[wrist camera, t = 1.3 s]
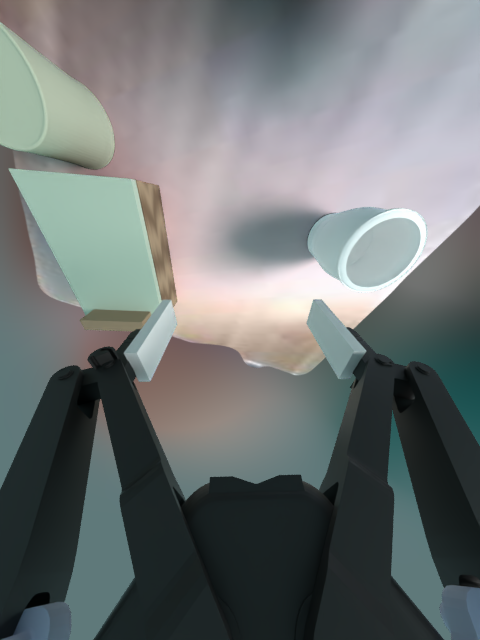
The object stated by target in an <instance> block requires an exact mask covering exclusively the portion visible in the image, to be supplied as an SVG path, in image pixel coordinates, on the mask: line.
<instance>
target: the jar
mask: <svg viewBox="0 0 480 640" xmlns="http://www.w3.org/2000/svg"><path fill="white" fill-rule="evenodd" d="M426 240H427V225H426V222H425V220H424V219H423V217H422V216H421V215H420V214H419V213H417V212H415V211H413V210H410V209H402V208H396V209H389V210H386V209H382V208H375V207H362V208H355V209H351V210H348V211H343V212H340V213H332V214H328V215H326V216H324V217H322V218H321V219H320V220H318V221H317V222H316V223H315V225H314V226H313V227H312V229H311V231H310V233H309V236H308V242H307V244H308V249H309V251H310V253H311V254H312V255H313V256H314V257H315V259H316V260H317V262H318V263H319V265H320V266H321V267H322V269H323V270H324V271H325V272H326V273H328V274H329V275H330V276H332V277H334V278H336V279H338V280H340V281H341V283H342V284H343V285H344V286H346V287H347V288H348V289H350V290H352V291H356V292H372V291H376V290H379V289H382V288H385V287H387V286H389V285H390V284H392V283H394V282H395V281H397V280H398V279H400V278H401V277H402V276H403V275H405V274H406V273H407V272H408V271H409V270H410V269H411V268H412V266H413V265H414V264H415V263H416V261H417V260H418V258H419V257H420V255H421V253H422V251H423V249H424V247H425V244H426Z"/></svg>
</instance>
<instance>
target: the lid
mask: <svg viewBox="0 0 480 640" xmlns="http://www.w3.org/2000/svg"><path fill="white" fill-rule="evenodd" d="M9 171H10V172H11V174H12V176H13V178H14V180H15V182H16V184H17V186H18V188H19V190H20V192H21V193H22V195H23V197H24V199H25V201H26V203H27V205H28V207H29V209H30V211H31V212H32V214H33V216H34V218H35V220H36V222H37V224H38V226H39V228H40V229H41V231H42V233H43V235H44V237H45V239H46V241H47V243H48V245H49V247H50V248H51V250H52V252H53V254H54V256H55V258H56V260H57V262H58V264H59V266H60V267H61V269H62V271H63V273H64V275H65V277H66V279H67V281H68V283H69V284H70V286H71V288H72V290H73V292H74V294H75V296H76V298H77V300H78V302H79V303H80V305H81V307H82V309H83V311H84V313H85V315H86V316H84V317H83V318H82V319H80V322H81V324H82V325H83V327H84V329H85V330H110V331H111V330H113V331H134V330H136V329H142V327H143V326H144V325H145V323H146V322H147V321H148V319H149V318H150V316H151V315H152V314H153V312H154V311H155V310H156V308H157V307H158V306H159V304H160V303H161V302H162V300H161V295H160V291H159V286H158V281H157V277H156V272H155V268H154V263H153V258H152V254H151V249H150V245H149V240H148V235H147V231H146V226H145V221H144V217H143V212H142V208H141V203H140V198H139V194H138V189H137V185H136V180H133V179H126V178H114V177H103V176H91V175H79V174H68V173H56V172H44V171H33V170H21V169H9Z"/></svg>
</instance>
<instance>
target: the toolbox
mask: <svg viewBox="0 0 480 640" xmlns="http://www.w3.org/2000/svg"><path fill="white" fill-rule="evenodd" d="M136 185H137V189H138V194H139V198H140V203H141V208H142V212H143V217H144V221H145V226H146V231H147V235H148V240H149V245H150V249H151V254H152V258H153V263H154V268H155V272H156V277H157V281H158V286H159V291H160V295H161V300H171V301H172V305H173V307H174V306H175V304H176V302H177V296H176V290H175V284H174V278H173V271H172V265H171V259H170V252H169V246H168V240H167V234H166V227H165V221H164V215H163V208H162V202H161V196H160V190H159V186H158V185H154V184H150V183H146V182H141V181H137V180H136Z"/></svg>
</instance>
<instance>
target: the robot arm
mask: <svg viewBox="0 0 480 640" xmlns="http://www.w3.org/2000/svg"><path fill="white" fill-rule="evenodd" d="M307 325H308V327H309V329H310V330H311V332H312V334H313V336H314V337H315V339H316V341H317V342H318V344H319V346H320V348H321V349H322V351H323V353H324V354H325V356H326V358H327V360H328V361H329V363H330V365H331V367H332V368H333V370H334V372H335V373H336V375H337V377H338V378H339V379H350V377H351V375H352V374H354V375H355V377H356V379H355V380H354V382H353V384H352V385H351V387H350V388H351V389H352V390H351V393H350V396H349V400H348V403H347V406H346V410H345V413H344V417H343V420H342V423H341V427H340V430H339V433H338V437H337V440H336V443H335V447H334V450H333V454H332V457H331V460H330V464H329V467H328V470H327V473H326V476H325V478H324V480H323V482H322V484H321V486H320V489H319V490H318V489H316V488H315V487H313V486H312V485H310V484H308V483H306V482H304V481H302V478H301V475H279V476H276V477H274V478H271V479H268V480H266V481H264V482H261V483H259V484H254V483H251V482H247V481H244V480H242V479H239V478H235V477H210V483H208V484H205V485H204V486H202V487H200V488H199V489H198V490H196V491H195V492H194V493H193V494H192V495H191V496H190V497H189V498H188V499H187V500H185V498H184V495H183V493H182V491H181V489H180V487H179V485H178V483H177V481H176V479H175V477H174V474H173V472H172V470H171V467H170V465H169V463H168V460H167V458H166V456H165V453H164V451H163V449H162V446H161V444H160V442H159V439H158V437H157V435H156V433H155V430H154V428H153V426H152V423H151V421H150V419H149V417H148V414H147V412H146V409H145V407H144V405H143V403H142V400H141V398H140V395H139V393H138V391H137V388H136V386H135V384H134V382H133V381H134V379H135V377H137V379H138V381H140V382H142V381H151V379H152V376H153V375H154V372H155V370H156V368H157V366H158V364H159V362H160V359H161V358H162V355H163V353H164V351H165V349H166V347H167V345H168V343H169V341H170V339H171V336H172V334H173V332H174V330H175V328H176V326H177V321H176V317H175V313H174V309H173V305H172V301H171V300H162V302H161V303H160V304H159V306H158V307H157V308H156V310H155V311H154V312H153V314H152V315H151V316H150V318H149V319H148V321H147V322H146V323H145V325H144V326H143V327H142V329H136V330H134V331H133V332H132V333H130V335H129V336H128V337H127V339H126V340H125V341H124V343H122V345H121V346H120V347H119V348H118V350H117V351H115V349H114V348H113V347H103V348H100V349H98V350H96V351H94V352H93V353H91V354H90V356H89V357H88V362H89V363H90V364H91V366H92V367H93V368H89V369H85V370H81V369H80V368H79V367H78V366H74V365H73V366H68V367H65V368H63V369H61V370H59V371H57V372H56V373H55V374H54V375H53V376H52V377H51V378H50V380H49V382H48V385H47V387H46V389H45V391H44V393H43V396H42V398H41V400H40V402H39V405H38V407H37V409H36V411H35V414H34V416H33V418H32V420H31V423H30V425H29V427H28V429H27V431H26V434H25V436H24V438H23V441H22V443H21V445H20V447H19V449H18V451H17V454H16V456H15V458H14V460H13V463H12V465H11V467H10V469H9V472H8V474H7V476H6V478H5V481H4V483H3V485H2V487H1V489H0V640H69V636H70V633H71V611H70V608H69V605H67V604H66V603H65V602H64V601H65V598H66V594H67V590H68V586H69V582H70V579H71V575H72V572H73V567H74V562H75V556H76V551H77V545H78V539H79V532H80V526H81V519H82V513H83V505H84V500H85V493H86V486H87V480H88V473H89V467H90V459H91V453H92V447H93V440H94V434H95V427H96V421H97V414H98V408H99V401H100V399H101V400H102V404H103V408H104V412H105V417H106V421H107V426H108V430H109V434H110V438H111V443H112V447H113V451H114V456H115V460H116V464H117V469H118V473H119V477H120V482H121V487H122V493H121V495H120V507H121V512H122V517H123V522H124V527H125V531H126V536H127V541H128V545H129V550H130V555H131V559H132V564H133V569H134V574H135V578H134V579H133V581H132V582H131V584H130V585H129V587H128V588H127V590H126V591H125V593H124V594H123V596H122V597H121V599H120V601H119V602H118V604H117V605H116V606H115V608H114V609H113V611H112V612H111V614H110V616H109V617H108V618H107V620H106V622H105V623H104V624H103V626H102V628H101V629H100V631H99V632H98V634H97V635H96V637H95V638H94V640H444V639H443V638H442V637H441V636H440V634H439V633H438V632H437V631H436V629H435V628H434V627H433V626H432V625H431V623H430V622H429V621H428V620H427V619H426V617H425V616H424V615H423V614H422V612H421V611H420V610H419V609H418V608H417V606H416V605H415V604H414V603H413V602H412V600H411V599H410V598H409V597H408V596H407V594H406V593H405V592H404V591H403V589H402V588H401V587H400V586H399V585H398V583H397V582H396V581H395V580H394V579H393V577H392V576H391V559H392V537H393V515H394V493H393V489H392V488H391V487H390V486H389V485H388V482H387V473H388V459H389V446H390V433H391V419H392V410H393V414H394V418H395V421H396V425H397V429H398V433H399V437H400V440H401V444H402V448H403V452H404V456H405V459H406V463H407V467H408V471H409V474H410V478H411V482H412V486H413V490H414V493H415V497H416V501H417V504H418V509H419V512H420V516H421V520H422V524H423V527H424V531H425V535H426V538H427V542H428V545H429V548H430V551H431V555H432V558H433V561H434V563H435V566H436V568H437V571H438V574H439V576H440V579H441V582H442V584H443V586H444V589H443V592H442V603H441V604H440V607H439V608H440V613H441V617H442V619H443V621H444V624H445V626H446V627H447V628H448V630H449V632H450V633H451V640H480V446H479V444H478V443H477V441H476V439H475V437H474V436H473V434H472V432H471V431H470V429H469V427H468V426H467V424H466V422H465V420H464V419H463V417H462V415H461V413H460V412H459V410H458V408H457V407H456V405H455V403H454V401H453V400H452V398H451V396H450V395H449V393H448V391H447V389H446V388H445V386H444V384H443V383H442V381H441V379H440V378H439V376H438V374H437V373H436V372H435V370H433V369H432V368H431V367H429V366H428V365H426V364H423V363H420V362H415V361H414V362H410V363H409V364H408V365H407V366H403V365H398V364H394V363H393V361H392V360H391V359H389V358H388V357H386V356H384V355H381V354H376V353H375V352H374V351H373V350H372V349H371V348H370V346H369V345H368V344H367V343H366V342H365V341H363V339H362V338H361V337H360V335H359V334H358V333H357V332H356V331H354V330H353V329H351V328H350V327H345V326H344V325H343V324H342V322H341V321H340V320H339V319H338V318H337V317H336V316H335V314H334V313H333V312H332V311H331V310H330V309H329V307H328V306H327V305H326V304H325V303H324V302H323V301H322V300H313V303H312V306H311V310H310V313H309V316H308V320H307Z"/></svg>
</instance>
